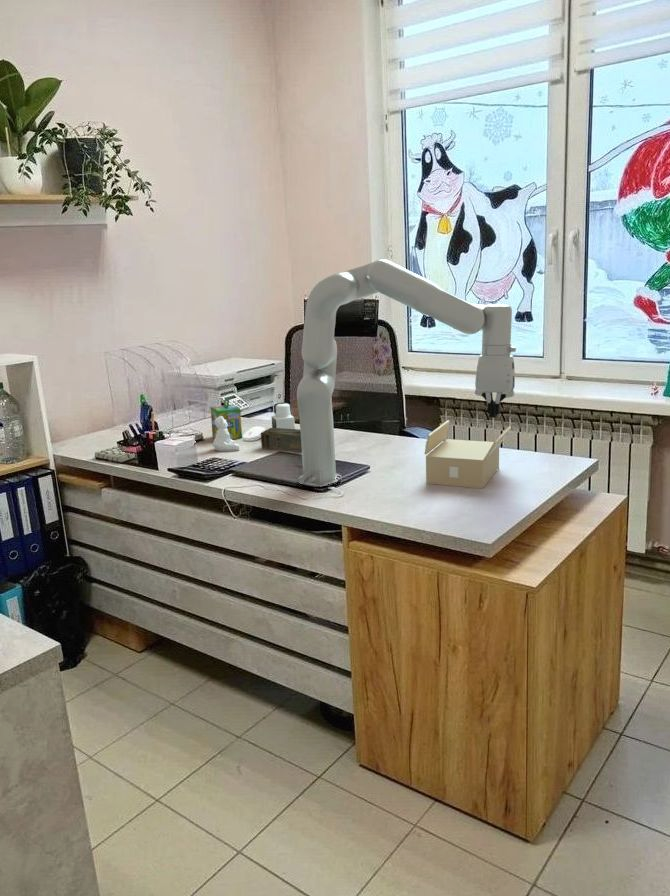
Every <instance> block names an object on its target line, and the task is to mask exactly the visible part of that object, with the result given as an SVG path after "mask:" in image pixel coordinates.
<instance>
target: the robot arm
mask: <svg viewBox="0 0 670 896" xmlns="http://www.w3.org/2000/svg"><path fill="white" fill-rule="evenodd" d="M378 293H379V294H381V295H384V296H386V297H388V298H391V299H392V300H394V301H397V302H398V303H401V304H403V306H406V307H409V308H411V309H412V310H414V311H417V312H418V313H420V314H422V315H424V316H425V315H426V316H428V317H430V318H432V319H435V320H436V321H438V322H441V323H442V324H444V325H446V326H449V327H451V328H453V329H454V330H457V331H459V332H461V333H463V334H466V335H474V334H476V333H478V332H480V331H482V337H481V338H482V339H481V340H482V341H481V342H482V343H481V354H480V355H479V356H478V360H477V366H476V372H475V387H474V388H475V390H474V394H475V395H477V396H480V397H482V398H483V399H484V400H485V401H486V403H487V414H488V417H489V418H491V419H492V418H493V419H495V418H497V417H498V415H500V412H501V409H500V408H501V403H502V401H503V400H504V399H508V398H512V397H514V396H515V391H514V390H515V383H516V381H515V380H516V376H515V375H516V373H515V360H514V359H515V358H514V355H512V353H515V352H516V350H517V347H516V346H512V343H511V342H512V341H511V339H512V338H511V337H512V315H513V312H512V311H513V310H512V306H510V305H509V304H506V303H505V304H503V303H493V304H487V305H486V304H479V303H471V302H469V301H466V300H465V299H461V298H460V297H458V296H455V295H454V294H451V293H449V292H447V291H446V290H444V289H442V288H441V287H440V286H438V285H437V284H436V283H434V282H432V281H431V280H429V279H427V278H425V277H423V276H420V275H418V274H417V273H414V272H412V271H410V270H408V269H406V268H405V267H402V266H400V265H399V264H396V263H394V262H392V261H390V260H388V259H384V258H383V259H382V258H381V259H376V260H374V261H373V262H370V263H367V264H364V265H361V266H358V267H354V268H352V269H351V268H350V269H348V270H345V271H341V272H337V273H333V274H331V275H329V276H327V277H325V278H323V279H322V280H321V281H319V282H318V283H316V284H315V286H314V287H313V288H312V289H311V291H310V292H309V295H308V297H307V300H306V305H305V313H304V323H303V324H304V325H303V333H302V336H303V338H302V343H301V344H302V346H301V357H302V360H303V373H302V374H303V375H302V378H301V380H300V381H299V383H298V385H297V389H296V390H297V391H296V401H297V406H298V408H297V409H298V415H299V430H300V431H301V448H302V451H301V460H302V461H301V463H302V475H300V476H299V477H298V478H297V483H298V482H299V483H300V484H303V483H305V482H310V483H317V484H331V483H335V482H337V481H338V480H337V479H336V478H338V479H340V478H339V477H337V476H340V477H341V478H342V475H341V474H340V473H337V469H336V449H335V448H336V447H335V430H334V428H335V427H334V415H333V400H332V395H333V393H334V390H335V386H336V385H335V384H336V374H337V373H336V372H337V362H338V361H337V359H338V345H337V341H336V339H335V328H336V320H337V319H336V317H337V311H338V309H339V307H340V306H343V305H347V304H349V303H351V302H353V301H357V300H358V299H363V298H365V297H368V296H372V295H375V294H378ZM493 393H496V394H495V400H494V395H493ZM334 479H335V480H334ZM299 483H298V484H299ZM300 484H299V485H300Z"/></svg>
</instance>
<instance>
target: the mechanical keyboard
mask: <svg viewBox="0 0 670 896" xmlns="http://www.w3.org/2000/svg"><path fill="white" fill-rule="evenodd" d="M165 432H166V433H183V434H189V432H185V431H180V430H174V429H171V430H169V431H168V430H167V431H165ZM191 433H192V434H194V435H195V441H196V443H195V444H197V443H200V442H203V441H205V439H204V435H202V433H200V434H198V433H193V432H191ZM118 446H119V445H116V446H112V447H109V448H106V449H102V450H99V451H96V452H94V460H97V461H101V462H108V463H115V464H125V463H128V462H133V461H137V459H135V458H136V457H135V454H134V453H133V454H130V453H125V452H122V451H121V450H119V448H118Z"/></svg>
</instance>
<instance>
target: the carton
mask: <svg viewBox="0 0 670 896" xmlns="http://www.w3.org/2000/svg"><path fill="white" fill-rule="evenodd" d="M494 442H495V441H481V440H480V441H479V440H470V439H469V440H468V439H467V440H464V439H449V438H446V439H445V440H444V441H442V442H441V443H440V444H439V445H438V446H436V447H435V448H434V449H433V450H431V451H430V452H429V453H428V454H427V455H425V472H426V473H425V476H426V477H425V478H426V479H425V480H426V481H425V482H426V483H425V484H428V485H440V486H451V487H453V486H454V487H460V488H461V487H463V488H473V489H474V488H475V489H484V487H485V486H486V485H487V483H489V481H490V480H491V479H492V478H493V476H494V475H495V474H496V473H497V472H496V470H497V469H498V468H499V469H500V445H499V446H498V447H497V448H496V449H495V451H494V452H493V453H492V454H491V455H490V456H489V457H488V458H487V459H486V460H485V459H484V458H485V456H486V455H487V453H488V451H489V450H490V448H491V446H492V445H493V443H494ZM499 469H498V470H499ZM498 470H497V471H498ZM495 472H496V473H495ZM494 473H495V474H494ZM493 474H494V475H493ZM491 477H492V478H491ZM490 478H491V479H490Z"/></svg>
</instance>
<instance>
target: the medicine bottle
mask: <svg viewBox="0 0 670 896" xmlns="http://www.w3.org/2000/svg"><path fill="white" fill-rule="evenodd" d="M291 412H292V411H291V404H290V403H289V402H278V403H275V404H273V414H274V415H273V414H272V415H271V428H283V429H296V428H295V427H296V426H295V424H296V423H295V417H294V416H293V415H292V414H291Z"/></svg>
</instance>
